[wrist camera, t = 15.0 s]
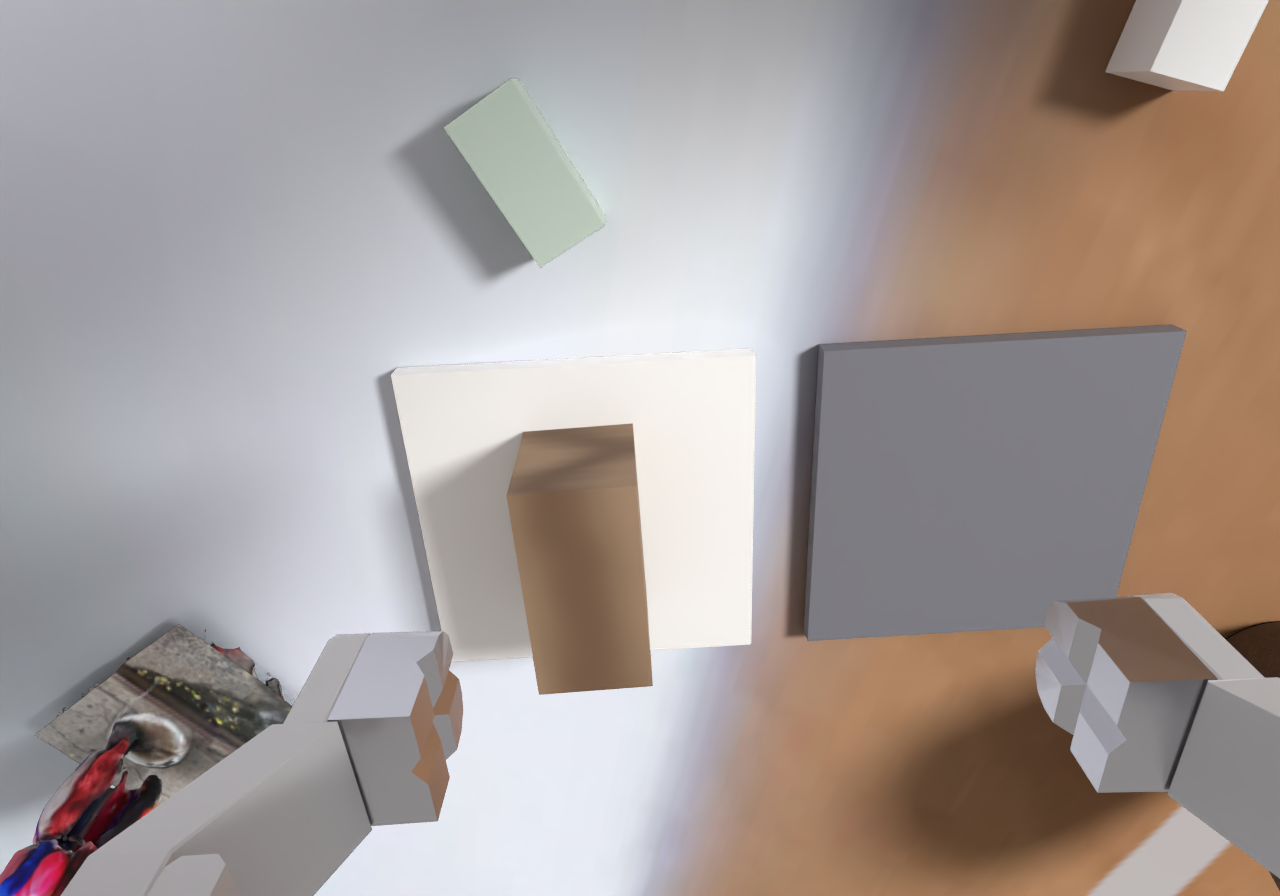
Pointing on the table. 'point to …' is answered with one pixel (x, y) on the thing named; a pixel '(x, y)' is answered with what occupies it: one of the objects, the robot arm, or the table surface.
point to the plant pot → (1261, 655)
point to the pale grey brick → (1185, 42)
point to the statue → (140, 749)
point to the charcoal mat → (978, 476)
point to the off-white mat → (666, 474)
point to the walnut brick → (581, 558)
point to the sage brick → (526, 172)
